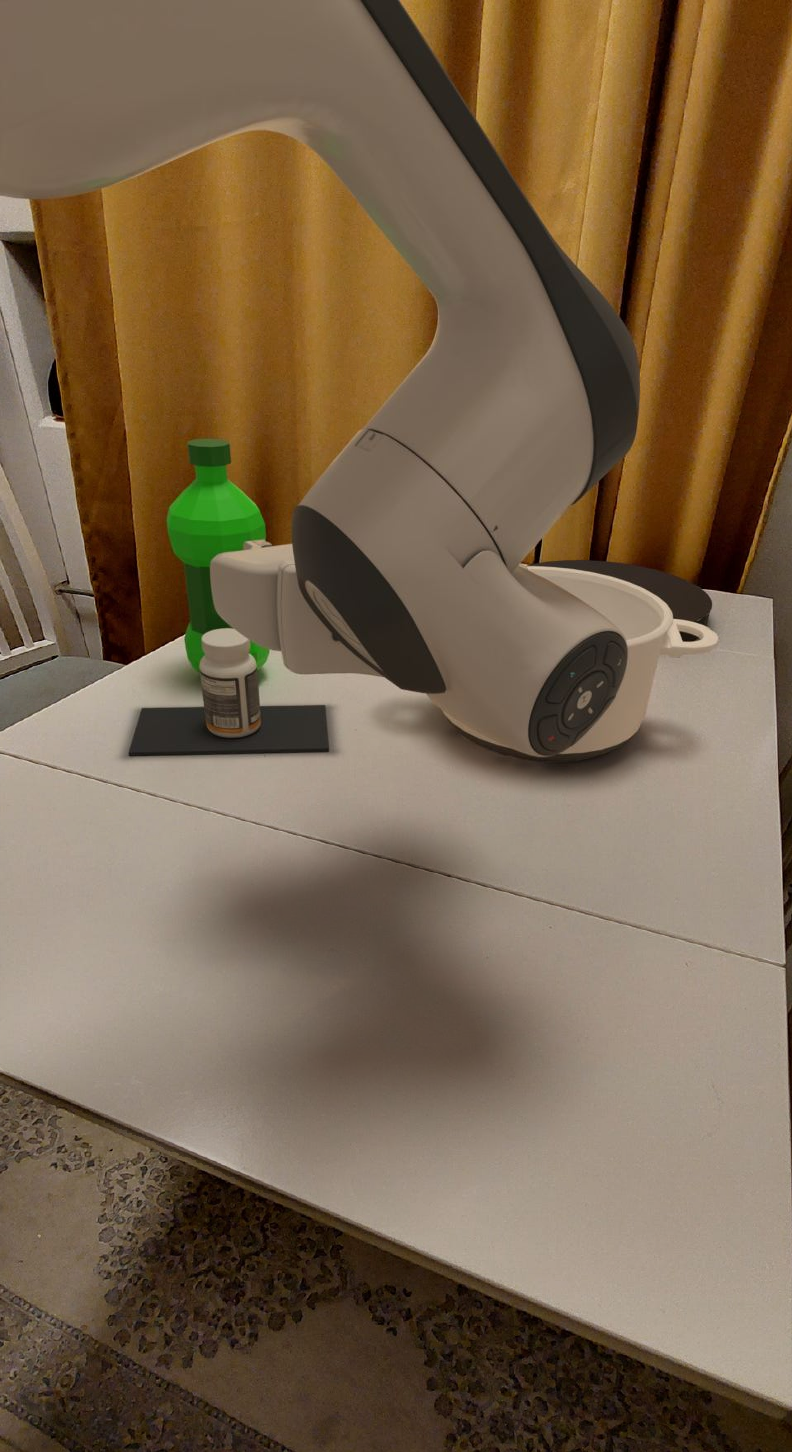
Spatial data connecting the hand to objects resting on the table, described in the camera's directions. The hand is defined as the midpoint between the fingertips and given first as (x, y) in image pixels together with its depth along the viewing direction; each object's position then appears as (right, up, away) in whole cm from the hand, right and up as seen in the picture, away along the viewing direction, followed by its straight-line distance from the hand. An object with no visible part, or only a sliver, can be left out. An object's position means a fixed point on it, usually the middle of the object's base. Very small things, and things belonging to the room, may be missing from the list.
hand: (312, 543), depth 61 cm
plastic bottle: (-14, -1, +38) cm, 41 cm away
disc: (+36, +14, +60) cm, 71 cm away
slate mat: (-11, -9, +27) cm, 31 cm away
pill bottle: (-11, -9, +27) cm, 30 cm away
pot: (+22, -8, +31) cm, 38 cm away
